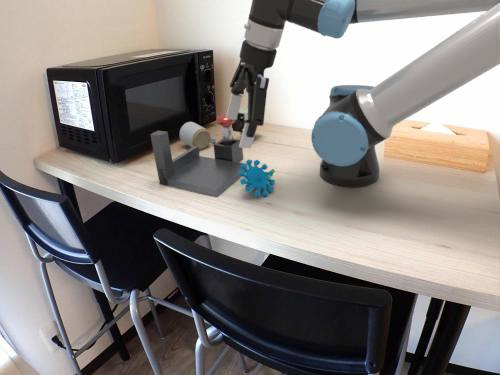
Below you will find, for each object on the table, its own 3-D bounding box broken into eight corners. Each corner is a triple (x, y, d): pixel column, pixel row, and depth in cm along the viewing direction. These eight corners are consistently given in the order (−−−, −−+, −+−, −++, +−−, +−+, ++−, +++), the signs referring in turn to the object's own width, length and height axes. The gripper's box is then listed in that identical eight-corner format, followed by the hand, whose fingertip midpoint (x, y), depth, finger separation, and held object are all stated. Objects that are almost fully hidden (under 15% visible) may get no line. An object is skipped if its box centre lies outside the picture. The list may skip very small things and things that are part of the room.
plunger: (239, 145, 108) (237, 115, 103) (231, 151, 104) (228, 120, 99) (225, 143, 110) (222, 113, 105) (216, 149, 106) (213, 118, 102)
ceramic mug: (194, 153, 116) (191, 130, 112) (180, 147, 121) (177, 124, 118) (221, 144, 122) (219, 122, 118) (206, 138, 127) (204, 117, 124)
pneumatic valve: (263, 137, 125) (262, 102, 120) (242, 148, 117) (239, 111, 112) (250, 134, 128) (248, 100, 123) (229, 145, 120) (226, 109, 115)
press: (258, 161, 108) (256, 115, 101) (217, 197, 90) (211, 143, 84) (206, 153, 115) (201, 109, 109) (159, 184, 98) (150, 134, 92)
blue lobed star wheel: (252, 199, 85) (234, 161, 87) (240, 208, 90) (223, 172, 92) (285, 188, 92) (268, 154, 94) (272, 198, 97) (256, 164, 99)
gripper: (229, 23, 85) (212, 107, 97) (261, 62, 67) (235, 159, 79) (259, 29, 88) (239, 110, 100) (298, 69, 70) (267, 161, 82)
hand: (237, 132), depth 90 cm, fingers open, 13 cm apart
